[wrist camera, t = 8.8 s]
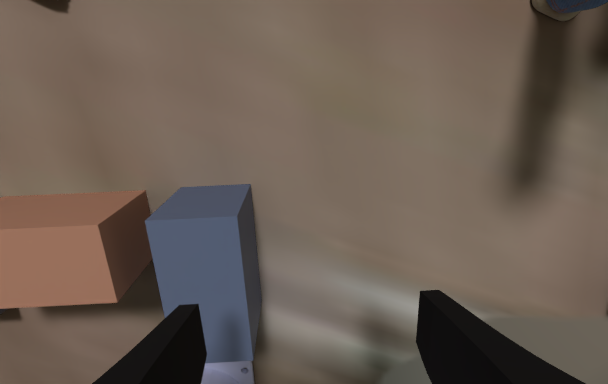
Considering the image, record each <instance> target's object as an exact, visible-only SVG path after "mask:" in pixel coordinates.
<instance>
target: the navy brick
mask: <svg viewBox="0 0 608 384" xmlns="http://www.w3.org/2000/svg"><path fill="white" fill-rule="evenodd" d="M145 224H146V229H147V234H148V239H149V243H150V248H151V253H152V258H153V263H154V267H155V272H156V277H157V282H158V287H159V291H160V296H161V301H162V306H163V311H164V315H165V318H166V317H167V316H168V315H169V314H170V313H171V312H172V311H173V310H174V309H175V308H177V307H178V306H179V305H186V304H199V310H200V316H201V322H202V327H203V333H204V339H205V345H206V351H207V357H206V362H205V363H220V362H237V361H253V359H254V352H255V345H256V338H257V331H258V324H259V317H260V309H261V302H262V299H261V288H260V278H259V267H258V257H257V246H256V236H255V225H254V215H253V204H252V193H251V184H241V185H221V186H200V187H181V188H180V189H179V190H178V191H177V192H176V193H174V194H173V195H172V196H171V197H170V198H169V199H168V200H167V201H166V202H165V203H164V204H163V205H161V206H160V207H159V208H158V209H157V210H156V211H155V212H154V213H153V214H152V215H151V216H150V217H148V218H147V219H146V220H145Z"/></svg>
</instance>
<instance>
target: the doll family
mask: <svg viewBox="0 0 608 384" xmlns="http://www.w3.org/2000/svg"><path fill="white" fill-rule="evenodd" d="M607 2H608V0H532V5H533V6H534V8H535V9H536V10H538V11H539V12H541V13H543V14H545V15H547V16H549V17H552V18H554V19H556V20H559V21H566V20H570V19H571V18H573V17H575V16H576V15H577V14H578V13H580V12H581V11H582V10H587V9H592V8H596V7H598V6H601V5H603V4H605V3H607Z"/></svg>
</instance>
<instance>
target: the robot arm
mask: <svg viewBox="0 0 608 384" xmlns="http://www.w3.org/2000/svg"><path fill="white" fill-rule="evenodd" d="M416 343H417V346H418V349H419V352H420V355H421V358H422V361H423V363H424V366H425V368H426V371H427V374H428V376H429V378H430V380H431V382H432V384H585V383H584V382H581V381H580V380H578V379H576V378H574V377H572V376H570V375H569V374H567V373H565V372H563V371H562V370H560V369H558V368H556V367H554V366H552V365H551V364H549V363H547V362H545V361H544V360H542V359H540V358H539V357H537V356H535V355H534V354H532V353H531V352H529V351H527V350H526V349H524V348H523V347H521V346H519V345H518V344H516V343H515V342H513V341H512V340H510V339H509V338H507V337H505V336H504V335H502V334H501V333H499V332H498V331H497V330H495V329H493V328H492V327H491V326H489V325H488V324H486V323H485V322H483V321H482V320H481V319H479V318H478V317H476V316H475V315H474V314H472V313H471V312H469V311H468V310H467V309H465V308H464V307H462V306H461V305H460V304H458V303H457V302H456V301H454V300H453V299H451V298H450V297H448V296H447V295H446V294H444V293H443V292H441V291H440V290H429V291H420V298H419V311H418V323H417V336H416ZM206 357H207V351H206V345H205V339H204V333H203V327H202V322H201V316H200V310H199V304H186V305H179V306H178V307H177V308H175V309H174V310H173V311H172V312H171V313H170V314H169V315H168V316H167V317H166V318H165V319H164V320H163V321H162V322H161V323H160V324H159V325H158V326H157V327H156V328H154V329H153V330H152V331H151V332H150V333H149V334H148V335H147V336H146V337H145V338H144V339H143V340H142V341H141V342H140V343H138V344H137V345H136V346H135V347H134V348H133V349H132V350H131V351H130V352H129V353H128V354H126V355H125V356H124V357H123V358H122V359H121V360H119V361H118V362H117V363H116V364H115V365H114V366H113V367H111V368H110V369H109V370H108V371H107V372H106V373H104V374H103V375H102V376H101V377H100V378H99V379H97V380H96V381H95V382H94V383H92V384H255V382H254V373H253V364H252V361H237V362H220V363H205V362H206ZM244 368H247V369H244Z"/></svg>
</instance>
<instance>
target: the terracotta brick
mask: <svg viewBox="0 0 608 384" xmlns="http://www.w3.org/2000/svg"><path fill="white" fill-rule="evenodd" d="M148 217H150V211H149V206H148V201H147V195H146V190H143V191H120V192H98V193H75V194H52V195H30V196H7V197H2V198H0V309H5V308H24V307H43V306H63V305H82V304H101V303H118V301H119V300H120V299H121V298H122V296H123V295H124V294H125V293H126V291H127V290H128V289H129V288H130V286H131V285H132V284H133V283H134V281H135V280H136V279H137V278H138V276H139V275H140V274H141V273H142V271H143V270H144V269H145V268H146V266H147V265H148V264H149V263H150V261H151V260H152V259H153V258H152V253H151V248H150V243H149V239H148V234H147V229H146V224H145V220H146V219H147V218H148Z"/></svg>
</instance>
